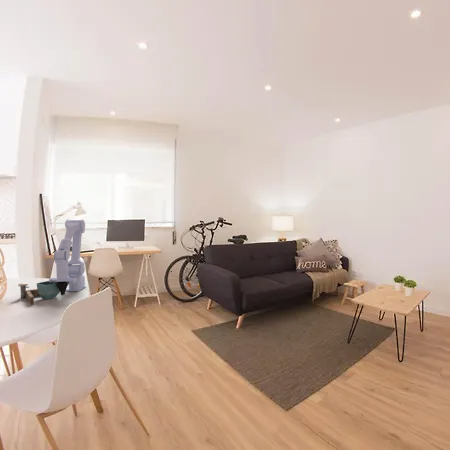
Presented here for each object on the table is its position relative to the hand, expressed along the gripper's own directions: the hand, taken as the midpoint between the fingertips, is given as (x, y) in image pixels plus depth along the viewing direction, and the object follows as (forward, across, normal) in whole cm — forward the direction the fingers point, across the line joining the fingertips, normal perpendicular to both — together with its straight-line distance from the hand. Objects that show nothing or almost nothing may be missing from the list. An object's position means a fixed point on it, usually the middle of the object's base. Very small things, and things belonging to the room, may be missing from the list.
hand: (63, 294), depth 153 cm
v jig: (+2, -17, 0) cm, 17 cm away
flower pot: (+2, -8, 0) cm, 8 cm away
